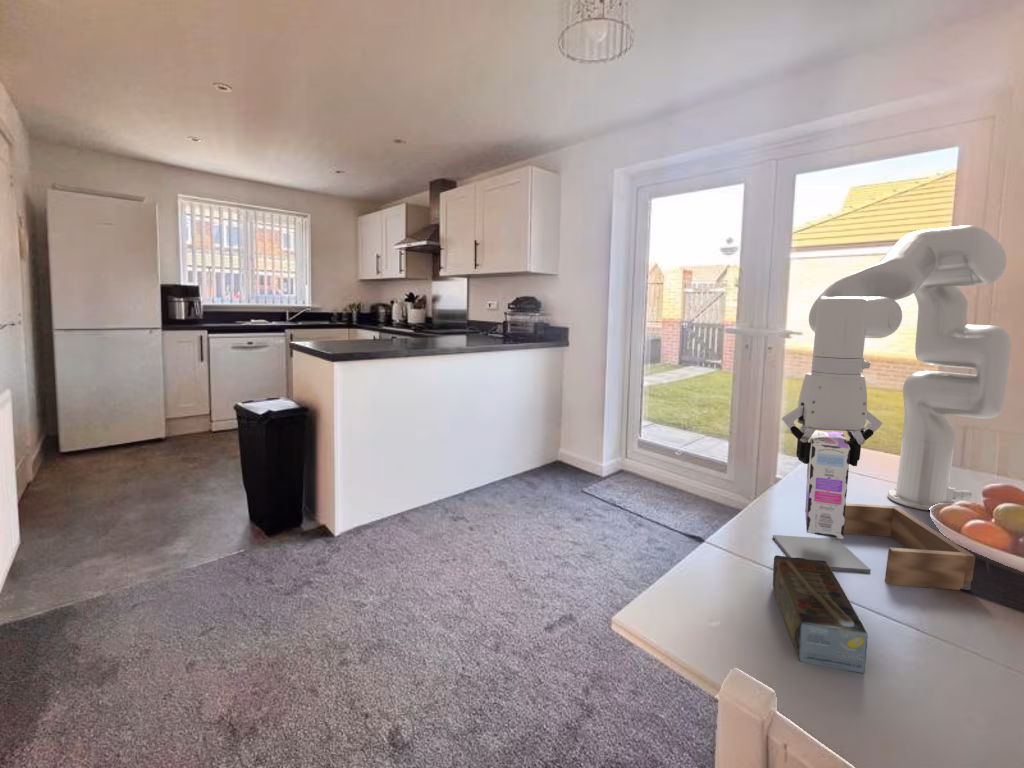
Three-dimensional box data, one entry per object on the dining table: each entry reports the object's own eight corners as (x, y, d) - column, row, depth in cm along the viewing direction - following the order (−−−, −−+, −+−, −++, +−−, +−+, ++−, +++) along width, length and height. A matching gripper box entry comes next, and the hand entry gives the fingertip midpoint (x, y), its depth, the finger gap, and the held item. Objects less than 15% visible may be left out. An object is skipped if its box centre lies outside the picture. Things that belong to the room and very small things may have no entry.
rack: (893, 534, 103) (896, 506, 103) (970, 590, 82) (975, 556, 82) (829, 530, 105) (831, 502, 104) (888, 584, 84) (892, 550, 83)
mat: (837, 541, 100) (837, 539, 100) (870, 572, 88) (870, 569, 88) (772, 537, 102) (773, 534, 101) (796, 567, 90) (797, 564, 90)
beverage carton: (795, 663, 66) (799, 616, 65) (769, 587, 84) (772, 550, 83) (866, 677, 63) (871, 628, 62) (824, 596, 81) (827, 557, 80)
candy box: (844, 540, 87) (851, 447, 84) (805, 534, 89) (810, 443, 87) (838, 513, 99) (844, 431, 96) (804, 508, 101) (808, 428, 99)
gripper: (877, 365, 92) (867, 459, 95) (776, 363, 95) (769, 455, 97) (902, 370, 85) (890, 471, 87) (792, 368, 87) (783, 466, 90)
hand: (826, 462), depth 92 cm, fingers closed on candy box, 7 cm apart
